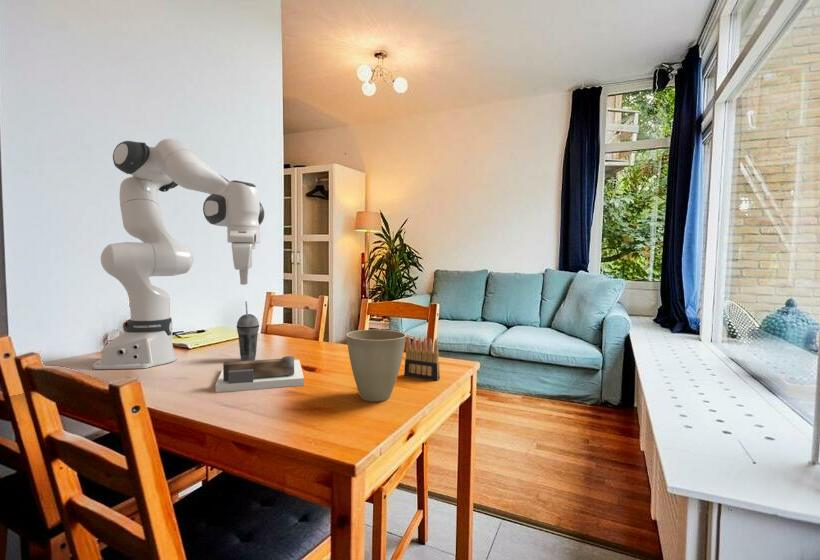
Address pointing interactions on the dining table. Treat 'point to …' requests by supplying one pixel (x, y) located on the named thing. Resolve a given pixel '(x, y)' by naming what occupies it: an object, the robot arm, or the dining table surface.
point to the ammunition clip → (422, 360)
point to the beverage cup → (247, 336)
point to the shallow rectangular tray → (258, 380)
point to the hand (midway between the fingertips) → (243, 284)
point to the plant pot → (375, 361)
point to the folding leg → (262, 367)
